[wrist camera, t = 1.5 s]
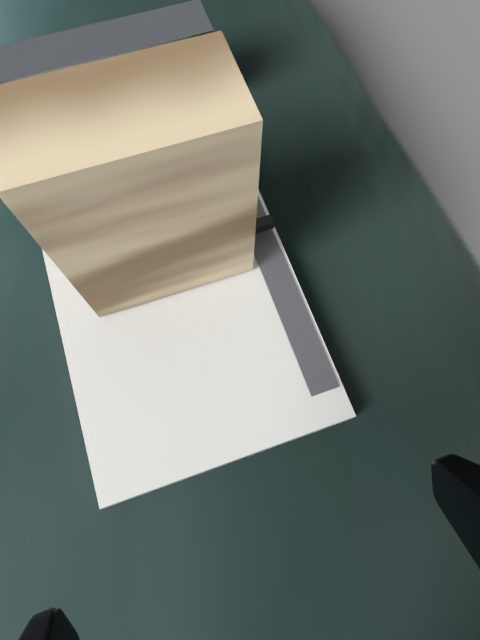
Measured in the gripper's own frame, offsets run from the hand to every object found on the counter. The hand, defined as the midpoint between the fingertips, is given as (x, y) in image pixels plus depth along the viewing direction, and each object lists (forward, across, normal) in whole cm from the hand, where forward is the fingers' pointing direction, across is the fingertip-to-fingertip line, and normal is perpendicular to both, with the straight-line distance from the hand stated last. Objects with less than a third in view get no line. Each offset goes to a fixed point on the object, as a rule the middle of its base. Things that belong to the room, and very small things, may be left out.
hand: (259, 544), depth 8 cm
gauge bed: (+19, 0, -1) cm, 19 cm away
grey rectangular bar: (+25, 0, -9) cm, 27 cm away
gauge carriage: (+17, 0, -1) cm, 17 cm away
